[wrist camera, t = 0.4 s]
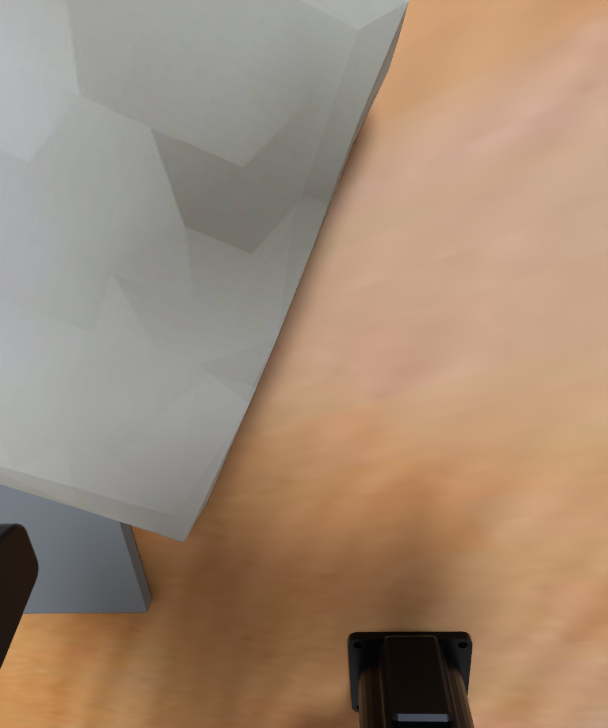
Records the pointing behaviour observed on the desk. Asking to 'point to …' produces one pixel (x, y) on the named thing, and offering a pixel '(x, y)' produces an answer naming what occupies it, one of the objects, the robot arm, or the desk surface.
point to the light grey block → (161, 228)
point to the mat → (78, 557)
